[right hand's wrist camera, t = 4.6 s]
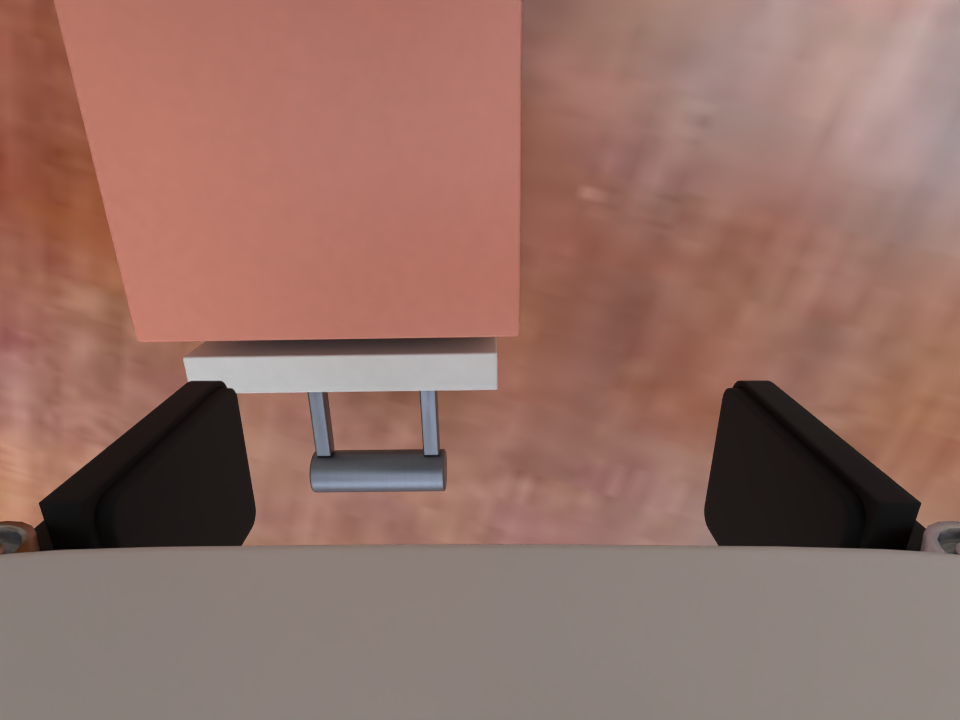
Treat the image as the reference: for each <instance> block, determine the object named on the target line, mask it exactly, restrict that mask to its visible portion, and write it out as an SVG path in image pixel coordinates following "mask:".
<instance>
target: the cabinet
mask: <svg viewBox="0 0 960 720" xmlns="http://www.w3.org/2000/svg"><path fill="white" fill-rule="evenodd" d="M54 5H55V9H56V13H57V17H58V21H59V25H60V29H61V33H62V37H63V41H64V45H65V49H66V53H67V57H68V61H69V66H70V70H71V74H72V78H73V82H74V86H75V90H76V94H77V98H78V102H79V106H80V110H81V114H82V118H83V123H84V127H85V131H86V135H87V139H88V143H89V147H90V151H91V155H92V159H93V163H94V167H95V171H96V175H97V180H98V184H99V188H100V192H101V196H102V200H103V204H104V208H105V212H106V216H107V220H108V224H109V228H110V232H111V236H112V241H113V245H114V249H115V253H116V257H117V261H118V265H119V269H120V273H121V277H122V281H123V285H124V289H125V293H126V298H127V302H128V306H129V310H130V314H131V318H132V322H133V326H134V330H135V334H136V338H137V341H138V342H176V341H244V340H313V339H381V338H449V337H517V336H519V335H520V228H521V76H522V0H54Z"/></svg>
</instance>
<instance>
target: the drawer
mask: <svg viewBox="0 0 960 720" xmlns="http://www.w3.org/2000/svg"><path fill="white" fill-rule="evenodd" d="M183 361H184V365H185V370H186V374H187V379H188V382H190V381H223V382H224V383H225V384H226V386H227V388H233V389H234V390H235V392H236V393H287V392H308V398H309V406H310V413H311V420H312V427H313V435H314V442H315V449H316V452H315V453H314V454H313V456H312V460H311V464H310V484H311V488H312V490H313V491H314V492H398V491H445V489H446V482H447V458H446V451H445V450H444V449H440V439H439V419H438V399H437V391H438V390H496V389H497V388H498V380H497V340H496V337H449V338H381V339H313V340H244V341H206V342H204V343H203V344H202V345H200V346H199V347H197V348H196V349H194V350H193V351H192V352H190V353H189V354H187V355H186V356H184V357H183ZM363 391H420V404H421V420H422V437H423V449H411V450H334V441H333V433H332V425H331V417H330V409H329V401H328V393H327V392H363Z"/></svg>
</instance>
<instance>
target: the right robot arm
mask: <svg viewBox="0 0 960 720" xmlns="http://www.w3.org/2000/svg"><path fill="white" fill-rule="evenodd" d="M39 505H40V508H41V511H42V514H43V518H44V521H43V522H41V523H40V524H39V525H38V526H37V527H36V528H33V527H32V526H31V525H29V524H26V523H23V522H15V521H3V522H0V720H960V522H957V521H945V522H937V523H934V524H931V525H929V526H928V527H927V528H924V527H923V526H922V525H921V524H920V523H919V522H917V521H916V518H917V514H918V511H919V508H920V505H921V502H919V501H918V500H917V499H916V498H914V497H913V496H912V495H911V494H909V493H908V492H907V491H906V490H904V489H903V488H902V487H901V486H900V485H898V484H897V483H896V482H895V481H893V480H892V479H891V478H890V477H888V476H887V475H886V474H885V473H884V472H882V471H881V470H880V469H879V468H877V467H876V466H875V465H874V464H872V463H871V462H870V461H869V460H867V459H866V458H865V457H864V456H863V455H861V454H860V453H859V452H858V451H856V450H855V449H854V448H853V447H851V446H850V445H849V444H848V443H846V442H845V441H844V440H843V439H842V438H840V437H839V436H838V435H837V434H835V433H834V432H833V431H832V430H830V429H829V428H828V427H827V426H825V425H824V424H823V423H822V422H821V421H819V420H818V419H817V418H816V417H814V416H813V415H812V414H811V413H809V412H808V411H807V410H806V409H805V408H803V407H802V406H801V405H800V404H798V403H797V402H796V401H795V400H793V399H792V398H791V397H790V396H788V395H787V394H786V393H785V392H784V391H782V390H781V389H780V388H779V387H777V386H776V385H775V384H774V383H772V382H770V381H737V382H736V383H735V384H734V386H733V388H727V389H726V390H725V392H724V395H723V399H722V405H721V411H720V417H719V423H718V429H717V435H716V441H715V447H714V453H713V459H712V465H711V471H710V477H709V483H708V489H707V495H706V501H705V508H704V515H705V521H706V525H707V527H708V529H709V530H710V532H711V534H712V536H713V537H714V539H715V541H716V542H717V544H718V546H667V545H546V544H442V545H286V546H242V544H243V542H244V541H245V539H246V537H247V536H248V534H249V532H250V530H251V529H252V527H253V525H254V521H255V515H256V508H255V501H254V495H253V489H252V483H251V477H250V471H249V465H248V459H247V453H246V447H245V441H244V435H243V429H242V423H241V417H240V411H239V405H238V399H237V395H236V392H235V390H234V389H233V388H227V386H226V384H225V383H224V382H223V381H190V382H188V383H186V384H185V385H184V386H183V387H181V388H180V389H179V390H178V391H176V392H175V393H174V394H173V395H172V396H170V397H169V398H168V399H167V400H165V401H164V402H163V403H162V404H160V405H159V406H158V407H157V408H155V409H154V410H153V411H152V412H151V413H149V414H148V415H147V416H146V417H144V418H143V419H142V420H141V421H139V422H138V423H137V424H136V425H135V426H133V427H132V428H131V429H130V430H128V431H127V432H126V433H125V434H123V435H122V436H121V437H120V438H118V439H117V440H116V441H115V442H114V443H112V444H111V445H110V446H109V447H107V448H106V449H105V450H104V451H102V452H101V453H100V454H99V455H97V456H96V457H95V458H94V459H93V460H91V461H90V462H89V463H88V464H86V465H85V466H84V467H83V468H81V469H80V470H79V471H78V472H76V473H75V474H74V475H73V476H72V477H70V478H69V479H68V480H67V481H65V482H64V483H63V484H62V485H60V486H59V487H58V488H57V489H56V490H54V491H53V492H52V493H51V494H49V495H48V496H47V497H46V498H44V499H43V500H42V501H41V502H39Z"/></svg>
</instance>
